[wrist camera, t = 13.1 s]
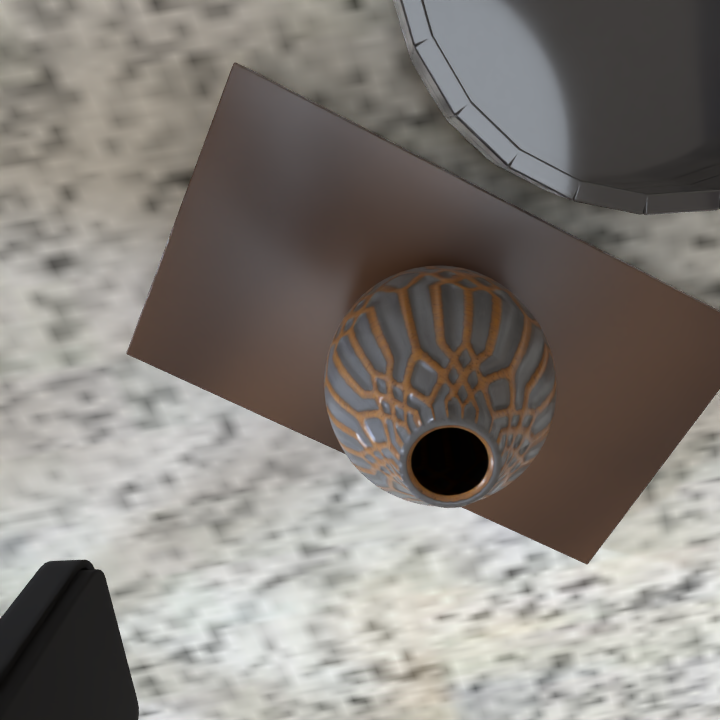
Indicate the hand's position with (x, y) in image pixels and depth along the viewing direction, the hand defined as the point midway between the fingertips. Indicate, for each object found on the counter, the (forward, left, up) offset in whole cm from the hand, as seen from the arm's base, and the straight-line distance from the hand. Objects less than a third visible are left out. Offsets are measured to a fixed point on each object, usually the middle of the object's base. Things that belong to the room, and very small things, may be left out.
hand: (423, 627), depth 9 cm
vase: (+1, 0, -15) cm, 15 cm away
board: (+1, 0, -16) cm, 16 cm away
